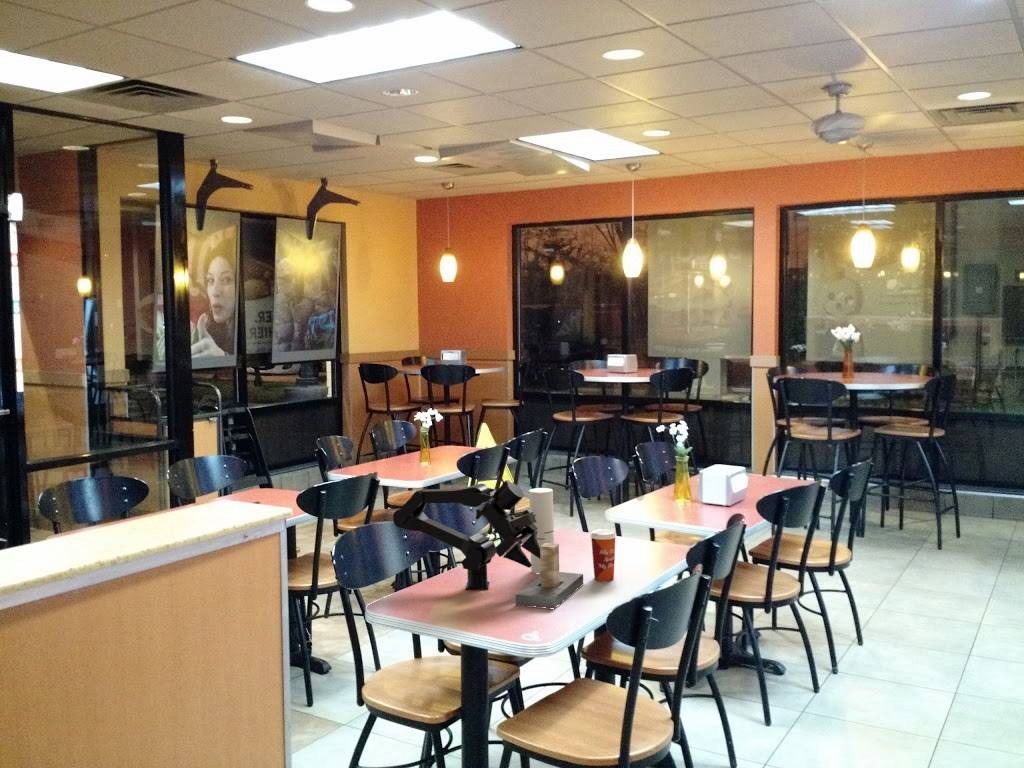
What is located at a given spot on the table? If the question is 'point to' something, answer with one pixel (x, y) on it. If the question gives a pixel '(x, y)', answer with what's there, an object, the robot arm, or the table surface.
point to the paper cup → (603, 554)
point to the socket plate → (549, 591)
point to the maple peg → (549, 565)
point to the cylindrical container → (542, 520)
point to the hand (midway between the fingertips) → (536, 562)
